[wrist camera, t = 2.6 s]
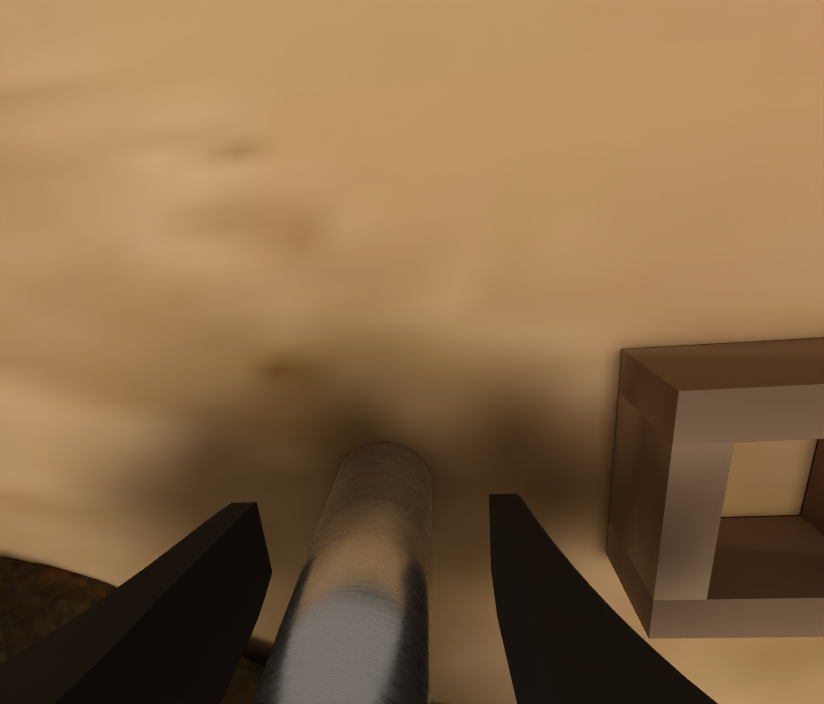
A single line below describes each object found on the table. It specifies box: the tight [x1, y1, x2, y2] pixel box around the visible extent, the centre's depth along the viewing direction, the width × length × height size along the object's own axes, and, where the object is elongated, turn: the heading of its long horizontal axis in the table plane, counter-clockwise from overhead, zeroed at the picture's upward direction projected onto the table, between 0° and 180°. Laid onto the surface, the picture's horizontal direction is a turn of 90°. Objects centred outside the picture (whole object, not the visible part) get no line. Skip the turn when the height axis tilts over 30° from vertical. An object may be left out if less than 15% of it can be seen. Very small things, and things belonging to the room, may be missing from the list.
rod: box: [251, 442, 433, 704], centre depth 8 cm, size 3×3×7 cm
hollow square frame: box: [607, 338, 824, 638], centre depth 10 cm, size 6×6×2 cm
